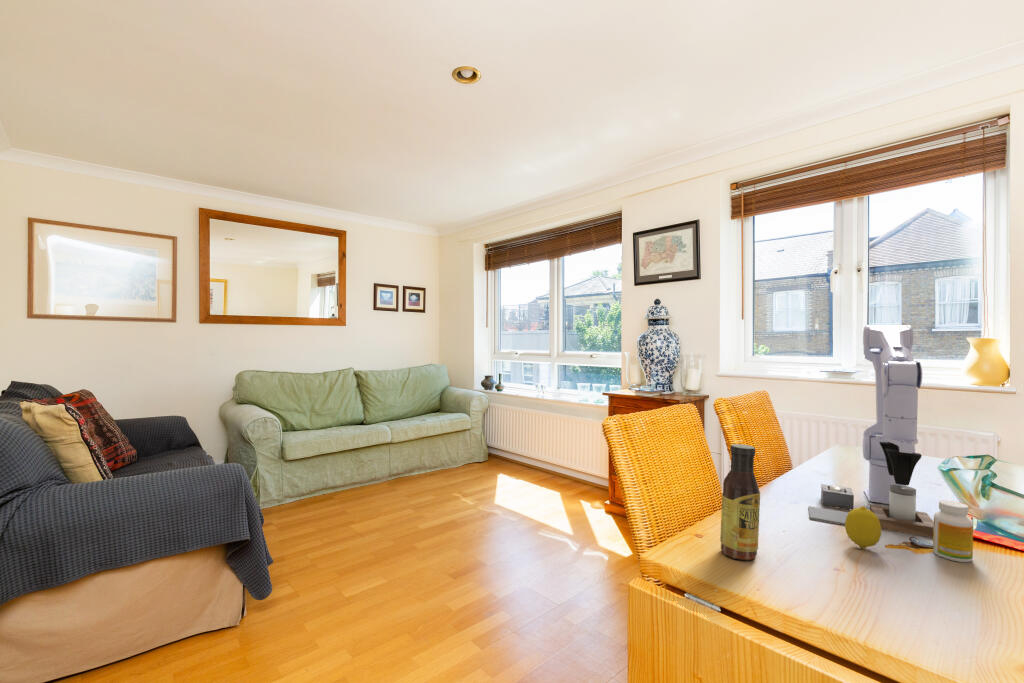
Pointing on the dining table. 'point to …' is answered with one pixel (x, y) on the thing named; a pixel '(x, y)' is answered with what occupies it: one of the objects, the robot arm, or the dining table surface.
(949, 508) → the supplement bottle
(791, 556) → the dining table surface
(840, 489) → the plunger button
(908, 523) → the walnut housing
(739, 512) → the sauce bottle
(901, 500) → the cylinder
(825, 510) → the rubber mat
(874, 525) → the lemon
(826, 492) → the plunger collar
